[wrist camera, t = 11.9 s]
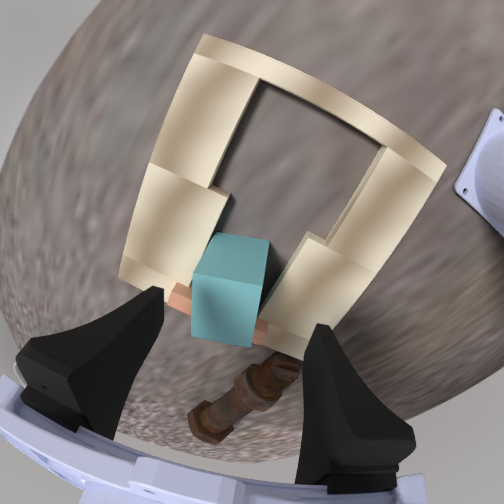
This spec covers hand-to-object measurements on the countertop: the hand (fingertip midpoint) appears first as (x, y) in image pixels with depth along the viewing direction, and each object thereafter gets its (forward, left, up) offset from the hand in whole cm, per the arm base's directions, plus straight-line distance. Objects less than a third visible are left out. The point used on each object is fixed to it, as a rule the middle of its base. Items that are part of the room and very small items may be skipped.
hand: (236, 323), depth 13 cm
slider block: (0, +3, -10) cm, 10 cm away
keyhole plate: (0, -2, -9) cm, 10 cm away
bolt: (-6, +16, -10) cm, 20 cm away
